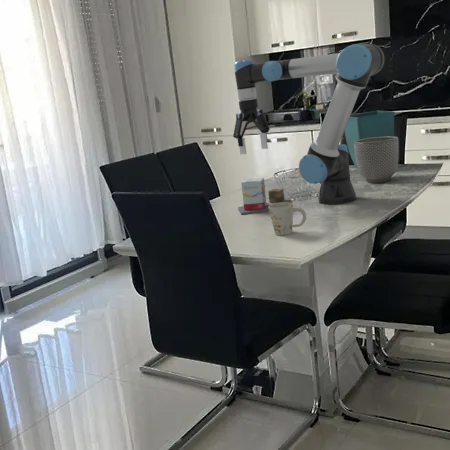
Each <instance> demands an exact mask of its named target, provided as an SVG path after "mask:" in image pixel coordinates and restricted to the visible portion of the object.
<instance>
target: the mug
mask: <svg viewBox="0 0 450 450" xmlns="http://www.w3.org/2000/svg"><path fill="white" fill-rule="evenodd" d="M294 212H299V213H301V215H302V219H301V221H300V223H298V224H297V223H296V224H293V221H294V220H293V219H294V218H293V216H294V214H293V213H294ZM268 213H269V215H270V219H271V223H272V224H271V225H272V228H273V231H274V235H277V236H286V235H291V234H292V233H293V228H298V227H301V226H303V225H304V224H305V222H306V220H307V213H306V211H305V210H304V209H303V208H302V207H297V206H296V207H294V204H293V202H290V201H284V202H283V201H281V202H273V203H270V204H269V211H268Z"/></svg>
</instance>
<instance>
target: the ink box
mask: <svg viewBox="0 0 450 450" xmlns="http://www.w3.org/2000/svg"><path fill="white" fill-rule="evenodd" d="M240 183H241V193H242V196H243V203H244V210H255V209H264V208H265V206H266V205H267V204H266V203H267V197H266V196H267V195H266V185H265V178H264V177H258V178H247V179H244V180H242V181H241V182H240Z"/></svg>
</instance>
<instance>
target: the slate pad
mask: <svg viewBox="0 0 450 450" xmlns="http://www.w3.org/2000/svg"><path fill="white" fill-rule="evenodd" d="M266 204H267V205H266V206H265V208H264V209H255V210H244V206H243V205H241V206H238V207H237V209H238V211H239V214H240V215H242V216H243V215H251V214H258V213H264V212H269V205H270V202H266Z"/></svg>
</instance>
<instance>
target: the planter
mask: <svg viewBox="0 0 450 450" xmlns="http://www.w3.org/2000/svg"><path fill="white" fill-rule="evenodd" d="M354 150H355V157H356V163H357V168H358V169H357V170H358V173H359V175H360V176H361V177H362V178H364V179H365V181H366V182H367V183H370V184H371V183H372V184H375V183H376V184H378V183H379V184H380V183H385V182H389V181H391V179H392V177H393V176H394V175H395V174H396V172H397V169H398V166H399V137H398V136H395V135H394V136H384V137H372V138H365V139H360V140H356V141H354Z"/></svg>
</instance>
